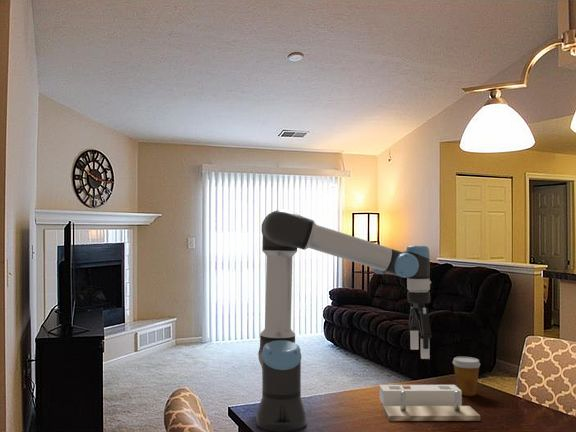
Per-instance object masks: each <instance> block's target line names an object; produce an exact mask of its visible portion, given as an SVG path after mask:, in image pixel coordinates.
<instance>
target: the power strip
mask: <svg viewBox="0 0 576 432" xmlns="http://www.w3.org/2000/svg"><path fill="white" fill-rule="evenodd" d="M402 391H404V392H405V393H406V406H454V392H455V391H458V392H459V393H460V406H463V402H462V401H463V400H462V399H463V397H462V396H463V395H462V391H461V390H460V389H459V388H458V387H457V384H379V400H380V403H381V404H382V407H383V406H400V393H401V392H402Z"/></svg>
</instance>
